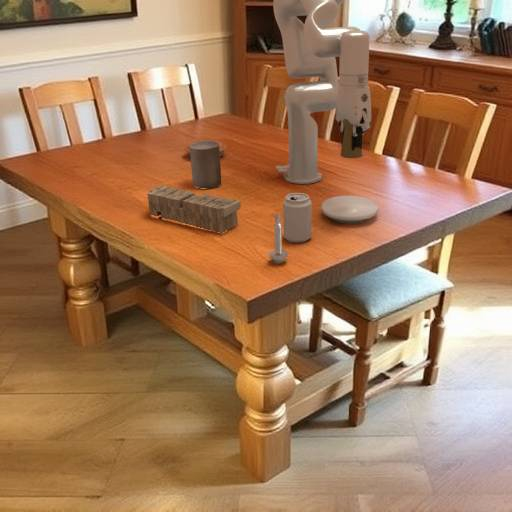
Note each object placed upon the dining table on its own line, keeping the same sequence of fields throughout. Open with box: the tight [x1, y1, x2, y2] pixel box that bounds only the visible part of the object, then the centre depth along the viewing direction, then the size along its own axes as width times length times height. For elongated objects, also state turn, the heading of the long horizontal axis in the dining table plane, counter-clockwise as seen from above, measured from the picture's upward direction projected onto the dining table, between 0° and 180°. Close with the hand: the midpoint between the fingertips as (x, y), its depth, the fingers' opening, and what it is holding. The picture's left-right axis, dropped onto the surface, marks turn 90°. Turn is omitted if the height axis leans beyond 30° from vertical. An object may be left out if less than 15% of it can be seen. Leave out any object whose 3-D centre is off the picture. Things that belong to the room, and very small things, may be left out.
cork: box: [340, 119, 363, 159], centre depth 185 cm, size 6×6×11 cm
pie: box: [184, 140, 227, 158], centre depth 253 cm, size 15×16×5 cm
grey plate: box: [321, 195, 379, 225], centre depth 194 cm, size 16×16×4 cm
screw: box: [268, 212, 289, 265], centre depth 167 cm, size 13×5×5 cm
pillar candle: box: [188, 140, 223, 189], centre depth 221 cm, size 10×10×15 cm
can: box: [282, 192, 313, 244], centre depth 180 cm, size 8×8×12 cm
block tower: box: [147, 185, 242, 234], centre depth 194 cm, size 8×8×29 cm
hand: (351, 147), depth 186 cm, fingers closed on cork, 3 cm apart
